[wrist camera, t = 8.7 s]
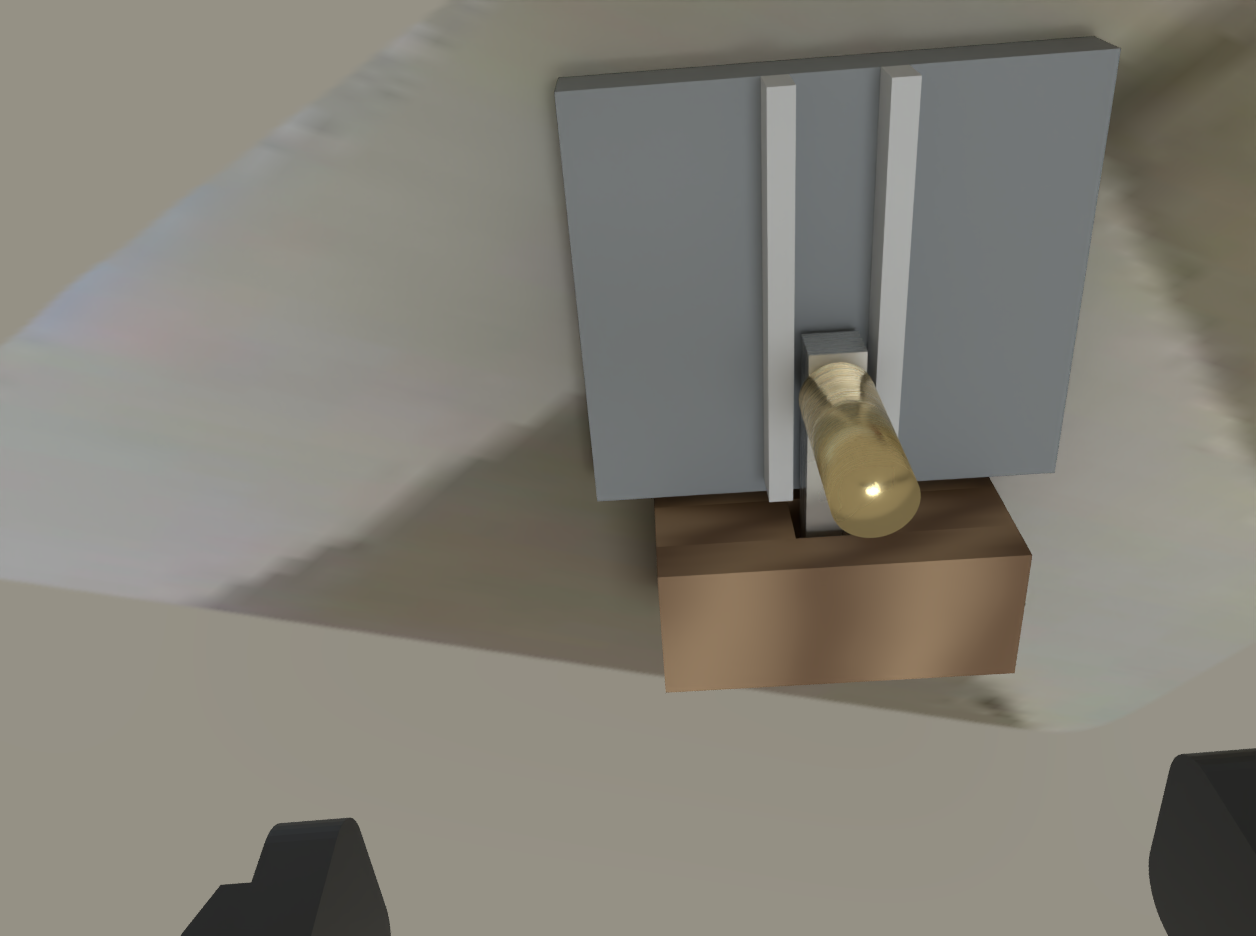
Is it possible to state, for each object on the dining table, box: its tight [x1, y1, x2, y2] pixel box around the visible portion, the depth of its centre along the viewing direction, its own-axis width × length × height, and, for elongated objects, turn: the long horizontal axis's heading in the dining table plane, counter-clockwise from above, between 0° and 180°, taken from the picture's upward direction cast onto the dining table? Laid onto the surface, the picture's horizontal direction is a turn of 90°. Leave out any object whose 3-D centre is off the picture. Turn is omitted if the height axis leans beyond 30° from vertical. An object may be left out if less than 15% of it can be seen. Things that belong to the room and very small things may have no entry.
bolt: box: [799, 330, 921, 538], centre depth 33 cm, size 2×9×8 cm, turn 4°
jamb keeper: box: [654, 477, 1032, 692], centre depth 38 cm, size 12×5×6 cm, turn 94°
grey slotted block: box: [554, 36, 1121, 502], centre depth 34 cm, size 16×14×4 cm
